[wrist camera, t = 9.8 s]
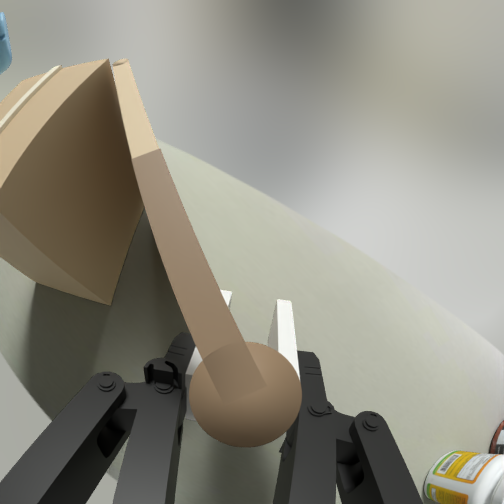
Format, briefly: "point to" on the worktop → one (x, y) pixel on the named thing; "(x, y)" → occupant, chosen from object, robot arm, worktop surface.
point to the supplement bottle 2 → (498, 441)
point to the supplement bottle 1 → (466, 479)
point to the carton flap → (207, 306)
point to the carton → (67, 181)
